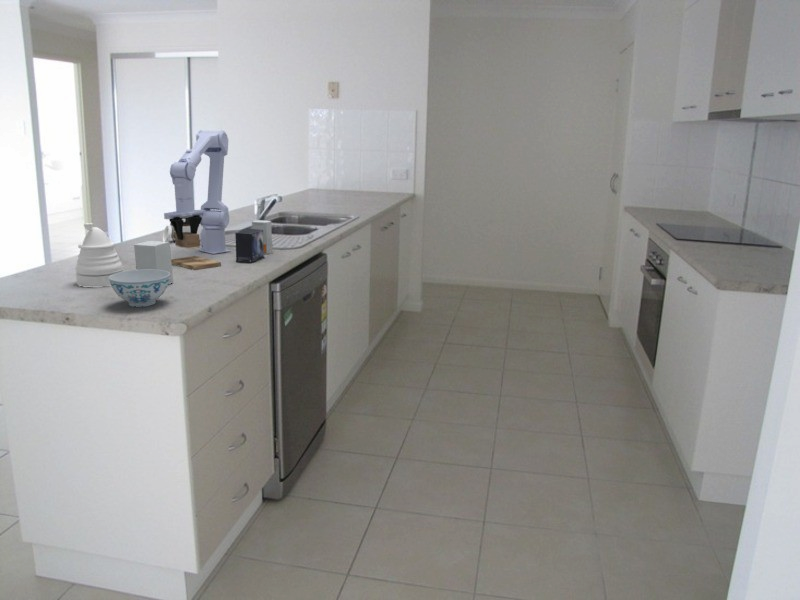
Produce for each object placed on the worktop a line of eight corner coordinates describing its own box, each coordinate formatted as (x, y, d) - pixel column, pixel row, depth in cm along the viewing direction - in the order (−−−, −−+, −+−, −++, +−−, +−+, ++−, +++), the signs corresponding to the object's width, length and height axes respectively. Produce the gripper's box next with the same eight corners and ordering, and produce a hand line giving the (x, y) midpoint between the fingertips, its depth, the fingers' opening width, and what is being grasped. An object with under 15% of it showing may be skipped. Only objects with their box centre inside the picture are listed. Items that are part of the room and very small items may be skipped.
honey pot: (94, 289, 190) (87, 227, 185) (68, 283, 196) (60, 223, 192) (133, 281, 200) (127, 222, 196) (106, 276, 207) (100, 218, 202)
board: (169, 263, 227) (168, 259, 227) (195, 259, 234) (195, 255, 234) (194, 270, 217) (194, 266, 216) (220, 265, 224) (220, 262, 223)
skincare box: (252, 253, 246) (251, 221, 243) (258, 251, 250) (256, 219, 247) (267, 254, 244) (266, 222, 241) (272, 252, 248) (271, 220, 245)
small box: (253, 263, 228) (251, 233, 226) (235, 262, 230) (234, 232, 227) (265, 257, 238) (264, 228, 236) (248, 256, 240) (246, 228, 237)
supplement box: (174, 283, 199) (171, 241, 195) (157, 288, 192) (154, 245, 189) (153, 281, 201) (150, 240, 198) (136, 286, 194) (133, 243, 191)
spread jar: (200, 241, 268) (198, 213, 265) (177, 245, 259) (175, 216, 256) (180, 238, 274) (178, 210, 271) (157, 242, 265) (155, 213, 262)
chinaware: (129, 295, 184) (126, 268, 182) (181, 297, 183) (179, 270, 181) (100, 309, 170) (97, 280, 168) (156, 312, 168) (153, 282, 166)
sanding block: (175, 246, 227) (174, 233, 226) (187, 244, 231) (186, 231, 229) (188, 249, 222) (187, 235, 221) (200, 247, 225) (199, 234, 224)
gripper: (170, 201, 214) (173, 242, 218) (209, 197, 225) (212, 237, 228) (159, 199, 219) (162, 239, 222) (198, 196, 229) (200, 235, 233)
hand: (187, 238), depth 226 cm, fingers closed on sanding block, 4 cm apart
